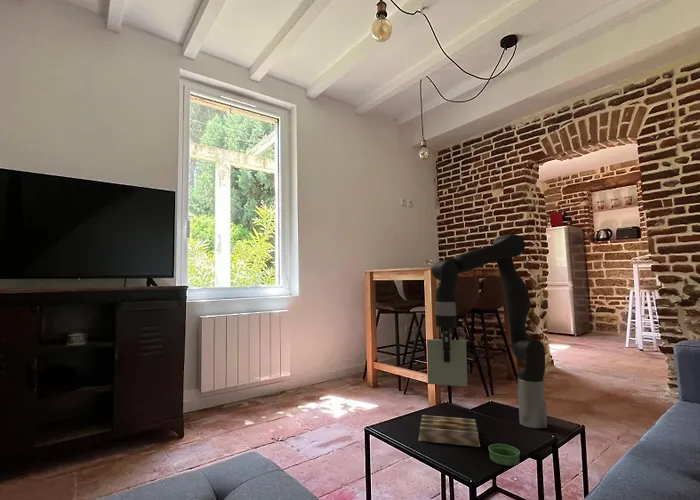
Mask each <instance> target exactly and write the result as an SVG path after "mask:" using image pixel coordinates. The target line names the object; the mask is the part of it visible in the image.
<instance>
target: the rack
mask: <svg viewBox="0 0 700 500" xmlns="http://www.w3.org/2000/svg"><path fill="white" fill-rule="evenodd" d="M440 419H447V420H458V421H463V426H458V430H448V429H438V428H433V422H434V423H440V422H439V420H440ZM417 440H418V442H419V441H420V442H428V443H429V442H430V443H437V444H438V443H440V444H447V445H448V444H449V445H456V446H466V447H467V446H469V447H479V448H480V447H481V444H480V439H479V432H478V427H477V423H476V419H473V418H464V417H453V416H451V417H449V416H438V415H428V414H427V415H426V414H421V421H420V426H419V435H418V439H417Z"/></svg>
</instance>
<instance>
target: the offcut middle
mask: <svg viewBox="0 0 700 500" xmlns="http://www.w3.org/2000/svg"><path fill="white" fill-rule="evenodd" d="M439 422H440V423H446V424H457V426H463V421H458V420H447V419H440V420H439Z"/></svg>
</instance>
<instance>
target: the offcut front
mask: <svg viewBox="0 0 700 500" xmlns="http://www.w3.org/2000/svg"><path fill="white" fill-rule="evenodd" d="M433 428H438V429H448V430H458V426H457V424H446V423H434V422H433Z"/></svg>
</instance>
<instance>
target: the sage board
mask: <svg viewBox="0 0 700 500" xmlns="http://www.w3.org/2000/svg"><path fill="white" fill-rule="evenodd" d="M445 347H449V346H444V348H445ZM426 349H427V350H426V355H427V356H426V358H427V359H426V362H427V385H434V386H435V385H438V386H453V387H454V386H455V387H468V360H467V359H468V357H467V354H468V353H467V340H463V339H462V340H460V339H451V345H450V362H449V363H448V362H444V352H443V345H442V339H437V338H436V339H435V338H434V339H433V338H432V339H430V338H427V339H426Z"/></svg>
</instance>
